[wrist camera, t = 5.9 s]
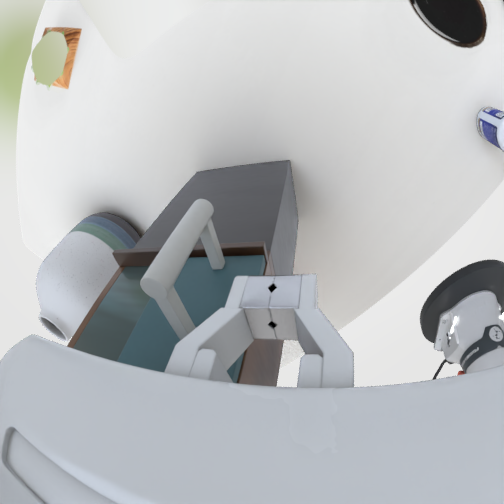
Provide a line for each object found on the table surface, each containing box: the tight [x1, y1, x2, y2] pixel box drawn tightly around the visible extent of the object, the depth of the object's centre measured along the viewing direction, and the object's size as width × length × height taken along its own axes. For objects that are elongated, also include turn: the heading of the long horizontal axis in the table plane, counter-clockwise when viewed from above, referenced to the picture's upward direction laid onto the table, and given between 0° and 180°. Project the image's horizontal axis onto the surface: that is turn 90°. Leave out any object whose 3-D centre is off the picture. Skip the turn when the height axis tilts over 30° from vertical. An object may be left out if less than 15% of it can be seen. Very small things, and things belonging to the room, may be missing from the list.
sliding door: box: [117, 199, 266, 383], centre depth 14 cm, size 6×7×12 cm
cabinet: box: [67, 160, 298, 387], centre depth 28 cm, size 12×14×35 cm
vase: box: [36, 213, 141, 341], centre depth 44 cm, size 17×17×24 cm
